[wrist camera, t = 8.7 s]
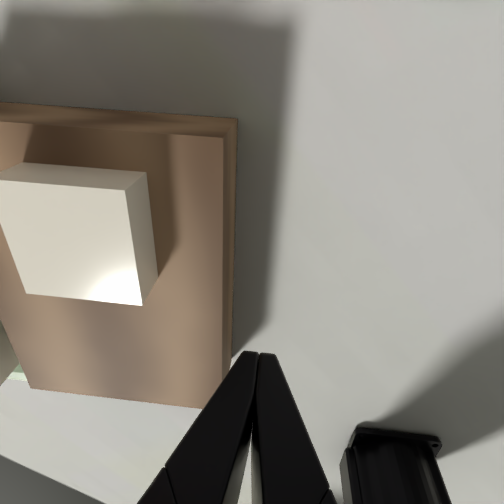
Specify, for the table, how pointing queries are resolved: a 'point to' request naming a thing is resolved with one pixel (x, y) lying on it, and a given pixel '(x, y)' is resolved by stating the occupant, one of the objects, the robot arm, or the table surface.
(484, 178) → the table surface
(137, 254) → the tile
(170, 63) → the table surface
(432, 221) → the table surface
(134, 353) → the board
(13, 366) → the tile
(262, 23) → the table surface
